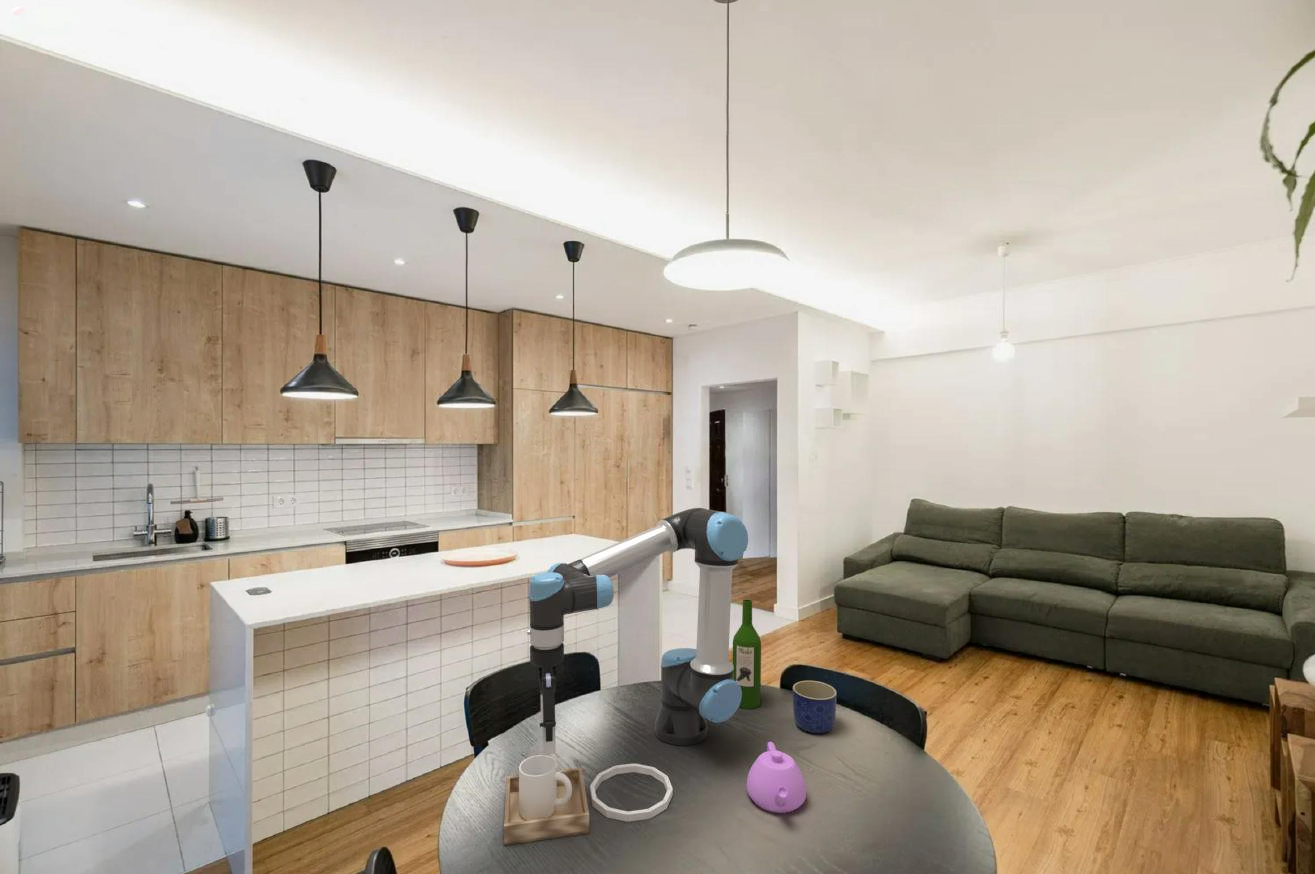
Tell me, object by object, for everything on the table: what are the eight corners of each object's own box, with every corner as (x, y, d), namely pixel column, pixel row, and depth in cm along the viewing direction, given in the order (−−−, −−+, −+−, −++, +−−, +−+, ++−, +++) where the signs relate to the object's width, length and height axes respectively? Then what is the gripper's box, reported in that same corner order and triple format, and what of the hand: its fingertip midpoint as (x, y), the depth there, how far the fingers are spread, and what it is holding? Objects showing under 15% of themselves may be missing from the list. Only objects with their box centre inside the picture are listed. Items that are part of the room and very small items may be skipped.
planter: (801, 712, 179) (802, 676, 179) (842, 724, 172) (842, 687, 171) (785, 728, 169) (785, 691, 169) (827, 742, 162) (827, 703, 161)
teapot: (751, 827, 127) (752, 779, 127) (742, 773, 147) (743, 731, 147) (815, 830, 126) (816, 781, 126) (797, 775, 146) (798, 733, 146)
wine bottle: (731, 707, 181) (732, 603, 181) (732, 695, 190) (733, 595, 189) (760, 710, 180) (761, 605, 179) (760, 697, 188) (761, 597, 188)
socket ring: (661, 766, 149) (661, 760, 149) (680, 814, 131) (680, 807, 131) (586, 775, 145) (586, 769, 145) (596, 826, 126) (596, 819, 126)
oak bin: (581, 783, 141) (581, 767, 141) (589, 833, 124) (589, 814, 124) (506, 793, 138) (506, 776, 137) (504, 845, 120) (504, 826, 120)
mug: (576, 802, 133) (577, 757, 133) (566, 826, 125) (566, 779, 125) (526, 797, 135) (527, 753, 135) (512, 820, 127) (513, 774, 127)
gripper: (529, 626, 142) (530, 712, 142) (530, 668, 117) (531, 771, 118) (560, 623, 143) (561, 708, 144) (567, 664, 119) (568, 766, 120)
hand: (547, 737), depth 131 cm, fingers open, 13 cm apart
